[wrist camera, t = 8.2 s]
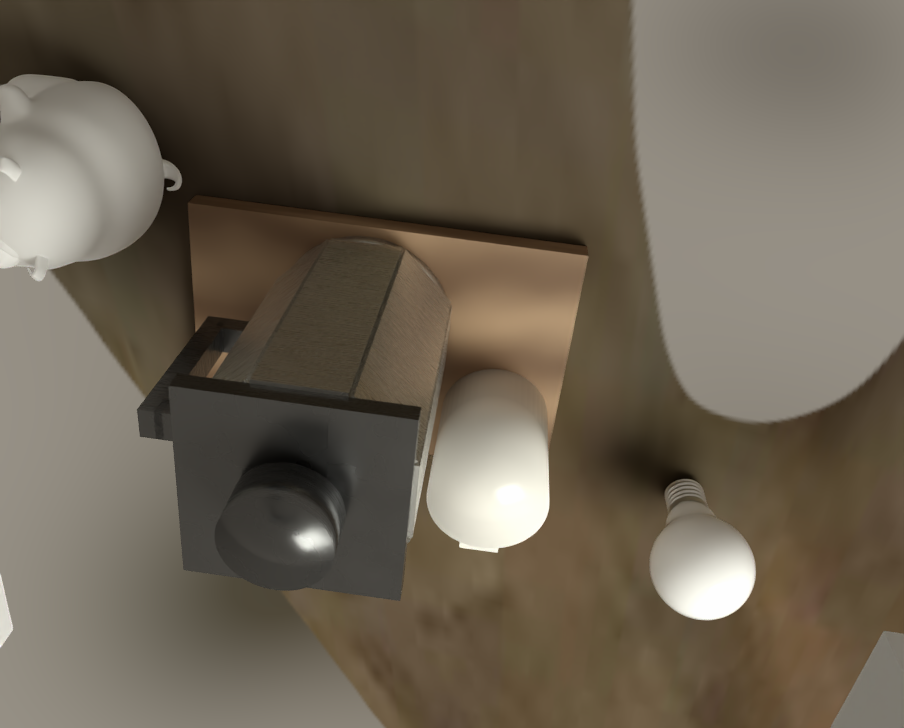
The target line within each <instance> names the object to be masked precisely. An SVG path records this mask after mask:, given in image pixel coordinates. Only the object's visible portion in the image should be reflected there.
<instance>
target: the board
mask: <svg viewBox="0 0 904 728" xmlns="http://www.w3.org/2000/svg"><path fill="white" fill-rule="evenodd" d="M188 216H189V233H190V249H191V265H192V282H193V298H194V314H195V331H197V330H198V329H199V327H200V326H201V325H202V323H203V322H204V321H205V320H206V318H207V317H208V316H213V317H221V318H228V319H235V320H243V321H250V320H251V318H252V317H253V315H254V314H255V312H256V311H257V309H258V308H259V306H260V304H261V303H262V301H263V300H264V298H265V297H266V295H267V294H268V292H269V291H270V289H271V288H272V286H273V285H274V283H275V282H276V280H277V279H278V278H279V277H280V276H281V275H283V274H284V273H285V272H286V271H288V270H289V269H290V268H291V267H293V266H294V265H295V263H296V262H297V261H298V260H299V259H300V258H301V257H302V256H303V255H304V254H305V253H306V252H308V251H309V250H311V249H312V248H314V247H315V246H317V245H319V244H321V243H323V242H324V241H326V240H327V239H328V240H331V238H334V239H335V238H340V237H346V236H368V237H374V238H379V239H383V240H386V241H389V242H393V243H395V244H397V245H399V246H401V247H403V248H405V249H407V250H408V251H410V252H411V253H413V254H414V255H416V256H417V257H418V258H419V259H421V260H422V261H423V262H424V263H425V264H426V265H427V266H428V267H429V268H430V269H431V270H432V272H433V273H434V274H435V276H436V277H437V278H438V280H439V282H440V284H441V285H442V287H443V289H444V292H445V294H446V297H447V298H448V299H449V300H450V301H451V304H450V305H452V311H451V319H450V331H449V336H448V345H447V353H446V362H445V368H444V373H443V379H442V384H441V389H440V394H439V400H438V405H437V410H436V415H435V421H434V426H433V431H432V437H431V442H430V447H429V452H428V454H430V455H434V450H435V445H436V439H437V434H438V428H439V422H440V417H441V411H442V406H443V401H444V399H445V396H446V394H447V392H448V391H449V389H450V388H451V387H452V386H453V385H454V384H455V383H456V382H457V381H458V380H460V379H461V378H462V377H464V376H466V375H468V374H471V373H473V372H476V371H480V370H487V369H499V370H506V371H510V372H513V373H516V374H518V375H520V376H522V377H524V378H526V379H527V380H529V381H530V382H531V383H532V384H533V385H534V386H535V387H536V388H537V389H538V390H539V391H540V393H541V394H542V396H543V398H544V400H545V403H546V407H547V420H548V451H549V446H550V441H551V436H552V431H553V426H554V421H555V417H556V412H557V407H558V402H559V397H560V392H561V387H562V382H563V378H564V373H565V368H566V363H567V358H568V353H569V348H570V343H571V338H572V334H573V329H574V324H575V319H576V314H577V309H578V304H579V299H580V294H581V290H582V285H583V280H584V275H585V270H586V265H587V260H588V250H587V246H580V245H573V244H565V243H558V242H550V241H542V240H535V239H527V238H520V237H512V236H505V235H497V234H489V233H482V232H474V231H467V230H459V229H452V228H444V227H437V226H429V225H421V224H414V223H406V222H399V221H391V220H384V219H376V218H368V217H361V216H353V215H346V214H338V213H331V212H323V211H316V210H308V209H300V208H293V207H285V206H278V205H270V204H263V203H255V202H248V201H240V200H232V199H225V198H217V197H210V196H202V195H196V196H195V197H194V198H193V199H191V200H190V201H189V202H188ZM227 355H228V353H225V352H223V353H222V354H221V356H220V357H219V359H218V360H217V362H216V363H215V365H214V366H213V368H212V369H211V371H210V372H209V374H208V375H207V378H213V376H214V375H215V373H216V372H217V370H218V369H219V367H220V365H221V364H222V362H223V361H224V359H225V358H226V356H227Z"/></svg>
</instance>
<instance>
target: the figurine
mask: <svg viewBox="0 0 904 728" xmlns="http://www.w3.org/2000/svg"><path fill="white" fill-rule="evenodd" d="M0 117H1V122H0V268H11V267H13V266H19V267H32V268H35V269H34V271H33V272H32V271H31V270H30V269H29V268H27V270H28V273H29V275H30V276H31V277H32V278H33V279H34V280H36V281H42V280H43V279H44V277H45V275H46V273H47V270H49V269H55V268H59V267H62V266H65V265H68V264H71V263H74V262H77V261H91V260H97V259H101V258H105V257H108V256H110V255H113V254H115V253H117V252H119V251H121V250H123V249H125V248H126V247H128V246H130V245H131V244H133V243H134V242H135V241H137V240H138V239H139V238H140V237H141V236H142V235H143V234H144V233H145V232H146V231H147V230H148V228H149V227H150V226H151V224H152V222H153V221H154V219H155V217H156V215H157V213H158V211H159V208H160V205H161V201H162V197H163V190H164V179H165V178H167V179H171V180H174V181H175V185H174V186H172V187H167V190H168V191H175V190H178V189H179V188H180V187H181V184H182V177H181V174H180V171H179V170H178V169H177V167H176V166H175V165H173V164H172V163H170V162H169V161H167V160H164V159H162V158H161V153H160V150H159V147H158V144H157V141H156V138H155V136H154V134H153V132H152V129H151V128H150V126H149V124H148V122H147V120H146V119H145V117H144V116H143V114H142V113H141V112H140V110H139V109H138V108H137V106H136V105H135V104H134V103H133V102H132V101H131V100H130V99H129V98H128V97H127V96H125V95H124V94H123V93H122V92H120V91H119V90H117V89H115V88H114V87H112V86H110V85H107V84H104V83H101V82H94V81H76V80H74V79H70V78H64V77H57V76H48V75H36V74H25V75H20V76H17V77H15V78H13V79H11V80H10V81H9V82H8V83H7V84H3V85H0Z"/></svg>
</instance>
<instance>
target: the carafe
mask: <svg viewBox="0 0 904 728" xmlns="http://www.w3.org/2000/svg"><path fill="white" fill-rule="evenodd" d="M450 304H451V301H450V300H449V299H448V298H447V297H446V294H445V292H444V289H443V287H442V285H441V284H440V282H439V280H438V278H437V277H436V276H435V274H434V273H433V272H432V270H431V269H430V268H429V267H428V266H427V265H426V264H425V263H424V262H423V261H422V260H421V259H419V258H418V257H417V256H416V255H414V254H413V253H411V252H410V251H408V250H407V249H405V248H403V247H401V246H399V245H397V244H395V243H393V242H389V241H386V240H383V239H379V238H374V237H368V236H346V237H340V238H335V239H334V238H331V240H328V239H327V240H326V241H324V242H323V243H321V244H319V245H317V246H315V247H314V248H312V249H311V250H309V251H308V252H306V253H305V254H304V255H303V256H302V257H301V258H300V259H299V260H298V261H297V262H296V263H295V265H294V266H293V267H291V268H290V269H289V270H288V271H286V272H285V273H284V274H283V275H281V276H280V277H279V278H278V279H277V280H276V282H275V283H274V285H273V286H272V288H271V289H270V291H269V292H268V294H267V295H266V297H265V298H264V300H263V301H262V303H261V304H260V306H259V308H258V309H257V311H256V312H255V314H254V315H253V317H252V318H251V320H250V321H243V320H235V319H228V318H221V317H213V316H208V317H207V318H206V320H205V321H204V322H203V323H202V325H201V326H200V327H199V329H198V330H197V331H196V333H195V334H194V335H193V337H192V338H191V339H190V341H189V342H188V343H187V345H186V346H185V347H184V349H183V350H182V351H181V352H180V354H179V355H178V356H177V358H176V359H175V360H174V362H173V363H172V364H171V366H170V367H169V368H168V370H167V371H166V372H165V374H164V375H163V376H162V378H161V379H160V380H159V381H158V383H157V384H156V385H155V387H154V388H153V389H152V391H151V392H150V393H149V395H148V396H147V397H146V399H145V400H144V402H143V403H142V404H141V405H140V407H139V408H138V409H137V413H138V421H139V431H140V437H147V438H154V439H162V440H168V441H173V449H174V461H175V473H176V485H177V496H178V508H179V519H180V531H181V544H182V556H183V568H184V570H188V571H195V572H202V573H209V574H216V575H223V576H230V577H237V578H241V577H240V576H238V575H237V574H236V573H235V572H233V571H232V570H231V569H230V568H229V567H228V566H227V565H226V564H225V562H224V561H223V560H222V558H221V557H220V555H219V553H218V551H217V548H216V545H215V539H214V534H215V527H216V524H217V522H218V520H219V518H220V516H221V514H222V512H223V510H224V508H225V506H226V504H227V502H228V500H229V498H230V496H231V494H232V492H233V490H234V488H235V486H236V484H237V482H238V481H239V479H240V478H241V477H242V476H243V475H244V474H245V473H246V472H247V471H249V470H251V469H252V468H254V467H257V466H259V465H262V464H266V463H273V462H286V463H293V464H298V465H301V466H305V467H307V468H309V469H312V470H314V471H316V472H317V473H319V474H321V475H322V476H324V477H325V478H326V479H327V480H328V481H330V482H331V483H332V484H333V486H334V487H335V488H336V489H337V491H338V492H339V493H340V495H341V497H342V499H343V502H344V505H345V510H346V518H345V524H344V527H343V530H342V534H341V537H340V540H339V544H338V547H337V550H336V554H335V557H334V560H333V563H332V566H331V568H330V570H329V572H328V573H327V574H326V575H325V576H324V577H323V578H322V579H321V580H320V581H318V582H317V583H315V584H313V585H311V586H309V587H307V588H314V589H321V590H328V591H335V592H342V593H349V594H356V595H363V596H370V597H377V598H384V599H391V600H398V601H400V599H401V593H402V588H403V581H404V571H405V561H406V552H407V543H408V542H410V538H412V537H413V531H414V526H415V521H416V516H417V510H418V505H419V500H420V495H421V489H422V484H423V479H424V473H425V468H426V463H427V458H428V452H429V447H430V442H431V437H432V431H433V426H434V421H435V415H436V410H437V405H438V400H439V394H440V389H441V384H442V379H443V373H444V368H445V362H446V353H447V345H448V336H449V331H450V319H451V311H452V305H450ZM223 352H225V353H228V355H227V356H226V358H225V359H224V361H223V362H222V364H221V365H220V367H219V369H218V370H217V372H216V373H215V375H214V376H213V378H207V375H208V374H209V372H210V371H211V369H212V368H213V366H214V365H215V363H216V362H217V360H218V359H219V357H220V356H221V354H222V353H223Z"/></svg>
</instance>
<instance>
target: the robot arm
mask: <svg viewBox="0 0 904 728" xmlns="http://www.w3.org/2000/svg"><path fill="white" fill-rule="evenodd" d="M12 630H13V626H12V621H11V617H10V613H9V609H8V604H7V600H6V596H5V591H4V587H3V583H2V579H1V574H0V647H1V646H2V645H3V643H4V641H5V640H6V639H7V637H8V636H9V634H10V633H11V632H12ZM831 728H904V634H901V633H894V632H888V631H884V632H883V633H882V635H881V637H880V639H879V641H878V642H877V644H876V646H875V648H874V650H873V651H872V653H871V655H870V657H869V659H868V661H867V662H866V664H865V666H864V668H863V670H862V671H861V673H860V675H859V677H858V679H857V680H856V682H855V684H854V686H853V688H852V689H851V691H850V693H849V695H848V697H847V699H846V700H845V702H844V704H843V706H842V708H841V709H840V711H839V713H838V715H837V717H836V718H835V720H834V722H833V724H832V726H831Z"/></svg>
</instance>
